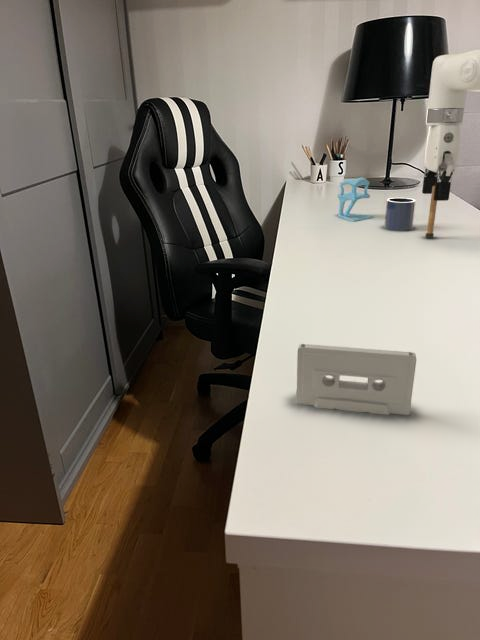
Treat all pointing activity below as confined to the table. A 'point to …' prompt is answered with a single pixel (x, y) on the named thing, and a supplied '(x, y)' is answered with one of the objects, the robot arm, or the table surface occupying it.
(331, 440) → the table surface
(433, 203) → the brush
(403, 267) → the table surface
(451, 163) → the robot arm
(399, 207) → the pencil cup
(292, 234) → the table surface
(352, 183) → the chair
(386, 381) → the cassette
